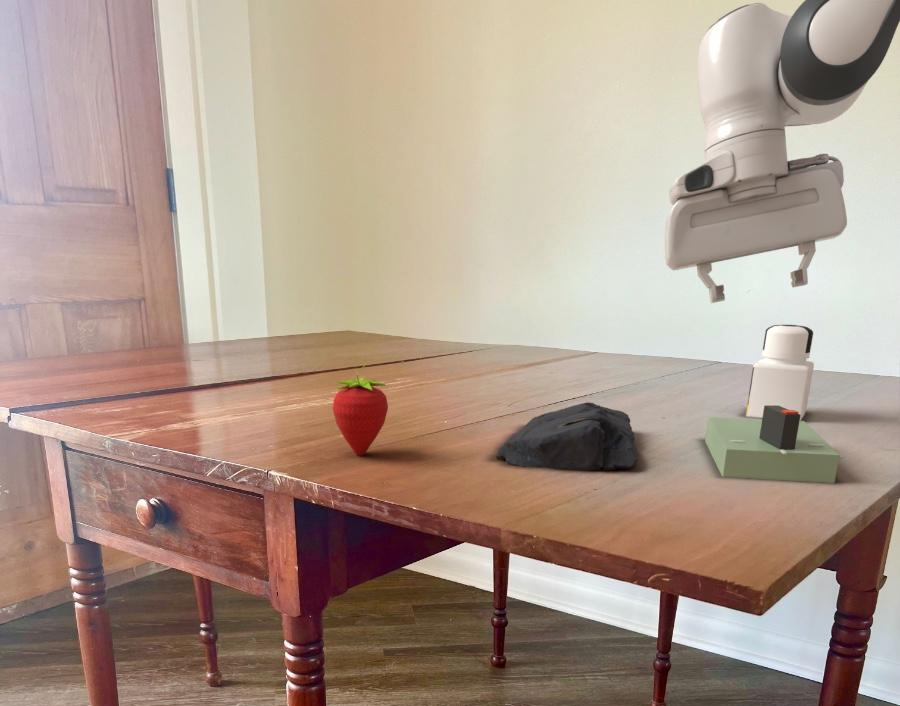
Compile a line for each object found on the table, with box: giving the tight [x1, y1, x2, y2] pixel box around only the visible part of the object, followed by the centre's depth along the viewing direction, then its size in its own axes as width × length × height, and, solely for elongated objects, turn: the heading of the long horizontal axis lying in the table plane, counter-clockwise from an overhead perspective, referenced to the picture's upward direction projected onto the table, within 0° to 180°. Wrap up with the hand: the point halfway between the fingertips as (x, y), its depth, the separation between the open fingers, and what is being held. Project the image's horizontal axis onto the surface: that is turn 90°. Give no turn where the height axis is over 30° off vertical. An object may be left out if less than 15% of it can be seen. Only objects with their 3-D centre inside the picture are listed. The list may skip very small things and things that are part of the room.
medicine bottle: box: [745, 324, 815, 421], centre depth 118 cm, size 7×7×12 cm
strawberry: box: [332, 363, 389, 457], centre depth 94 cm, size 6×8×10 cm
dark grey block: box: [759, 405, 800, 449], centre depth 90 cm, size 5×2×4 cm, turn 5°
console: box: [704, 416, 841, 484], centre depth 95 cm, size 11×18×3 cm, turn 171°
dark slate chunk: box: [495, 401, 640, 472], centre depth 99 cm, size 15×22×5 cm
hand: (758, 294), depth 103 cm, fingers open, 8 cm apart
